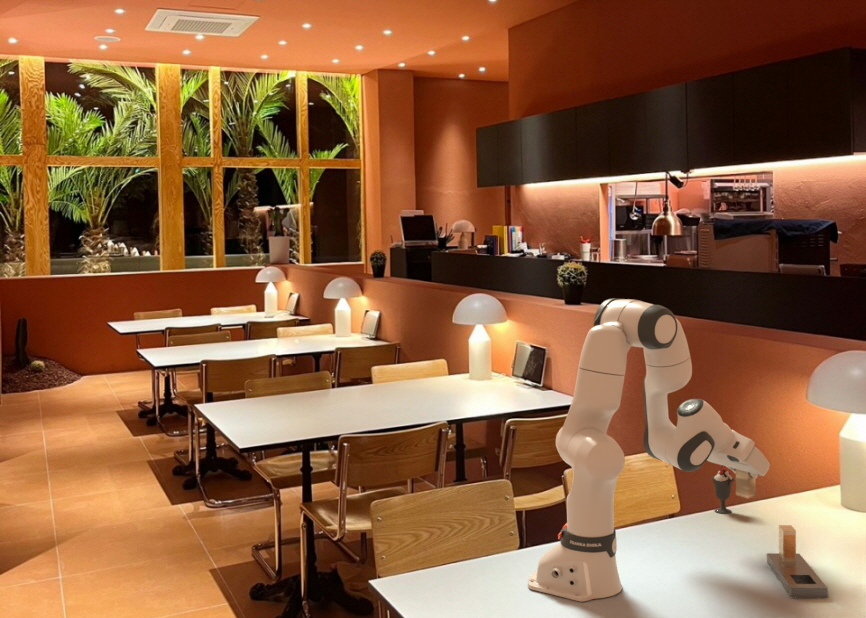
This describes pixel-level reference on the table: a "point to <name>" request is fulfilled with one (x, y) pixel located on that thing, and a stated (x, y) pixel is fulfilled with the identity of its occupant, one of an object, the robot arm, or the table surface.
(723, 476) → the sundae
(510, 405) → the table surface
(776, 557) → the gray block holder
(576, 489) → the robot arm
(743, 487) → the wooden block
